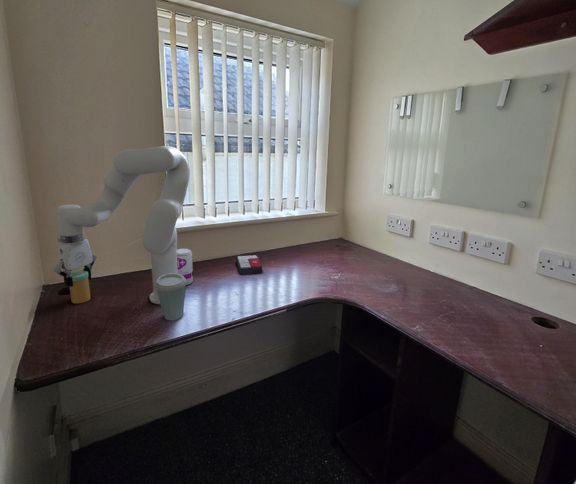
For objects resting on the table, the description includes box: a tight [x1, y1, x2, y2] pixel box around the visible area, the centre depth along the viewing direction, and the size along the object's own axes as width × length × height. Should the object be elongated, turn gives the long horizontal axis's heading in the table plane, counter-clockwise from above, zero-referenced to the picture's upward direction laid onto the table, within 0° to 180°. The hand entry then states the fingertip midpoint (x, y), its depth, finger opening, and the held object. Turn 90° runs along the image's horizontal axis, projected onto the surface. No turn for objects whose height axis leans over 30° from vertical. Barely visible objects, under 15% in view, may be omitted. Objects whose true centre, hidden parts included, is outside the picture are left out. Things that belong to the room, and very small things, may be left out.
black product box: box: [236, 254, 263, 275], centre depth 162 cm, size 11×4×15 cm
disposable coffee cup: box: [155, 273, 187, 321], centre depth 114 cm, size 11×11×15 cm
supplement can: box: [177, 247, 194, 286], centre depth 141 cm, size 8×8×15 cm
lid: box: [70, 269, 89, 282], centre depth 122 cm, size 7×7×2 cm
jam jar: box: [68, 278, 92, 304], centre depth 123 cm, size 6×6×10 cm
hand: (78, 281), depth 122 cm, fingers closed on lid, 6 cm apart
